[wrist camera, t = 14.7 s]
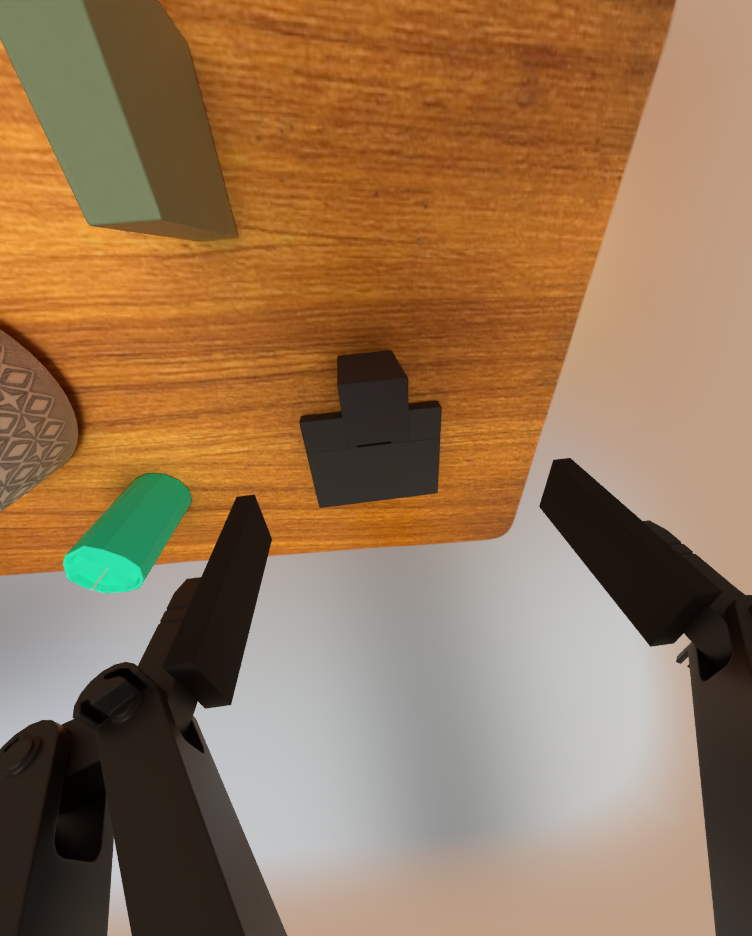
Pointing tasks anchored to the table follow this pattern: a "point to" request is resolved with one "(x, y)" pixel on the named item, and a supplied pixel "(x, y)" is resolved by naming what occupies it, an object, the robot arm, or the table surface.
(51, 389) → the planter
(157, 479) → the candle
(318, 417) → the pad
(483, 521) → the table surface
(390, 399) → the black rectangular block
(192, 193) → the stand
